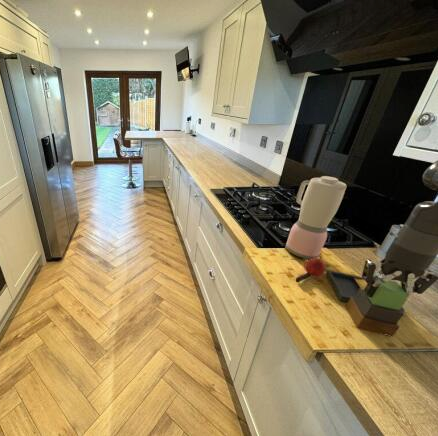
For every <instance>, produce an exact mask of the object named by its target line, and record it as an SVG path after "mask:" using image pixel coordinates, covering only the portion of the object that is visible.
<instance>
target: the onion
mask: <svg viewBox="0 0 438 436" xmlns="http://www.w3.org/2000/svg"><path fill="white" fill-rule="evenodd" d="M321 259H322V258H321V257H320V256H319V257H317V258H316V259H310V260H309V261H305V262H306V263H304V269H305V272H306V273H310V274H311V277H320V276H322V275H323V274H324V273H325V271H326V268H325V267H326V265H325V263H324V261H323V260H321Z"/></svg>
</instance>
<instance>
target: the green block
mask: <svg viewBox="0 0 438 436" xmlns="http://www.w3.org/2000/svg"><path fill="white" fill-rule="evenodd" d="M377 280H378V279H377ZM364 292H365V291H364ZM409 297H410V294H409V295H408V294H407V293H406V292H405V291H404V290H403V289H402V288H401V285H400V284H399V283H398V282H397V281H395V280H390V281H388V282H387V283H382V284H381V285H379V286H378V288H377V290H376V292H375V293H374V295H373V297H368V298H369V299H370V300H371V302H372V303H373V305H378V306H382V307H386V308H391V309H395V310H399V309H400V308H401V307H402V308H403V305H404V304H405V302H406V301H407V300H408V298H409Z"/></svg>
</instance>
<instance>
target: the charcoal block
mask: <svg viewBox="0 0 438 436" xmlns="http://www.w3.org/2000/svg"><path fill="white" fill-rule="evenodd" d="M364 289H365V288H361V289H359V290H358V292H357V293H356V295H355V297H354V300H355V302H356V303H357V305H358V307H359V308H360V310H361V312H362V313H363V315H364V316H365V317H368V318H372V319H377V320H381V321H385V322H389V323H393V324H397V323H398V324H399V321H400V320H401V318H402V317H403V316H404V315H405V312H404V311H402V310H401V309H399V310H395V309H391V308H386V307H382V306H378V305H373V303H372V302H371V300H370V299H369V298H368V296H367V295H366V293H365V292H364Z"/></svg>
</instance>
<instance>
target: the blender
mask: <svg viewBox="0 0 438 436" xmlns="http://www.w3.org/2000/svg"><path fill="white" fill-rule="evenodd" d="M306 186H307V188H306ZM347 187H348V186H347V184H346V183H344V182H343V181H340V180H339V179H338V178H337V177H334V176H328V175H322V176H320V177H313V178H311V179H310V180H308V179H307V180H303V181H302V182H301V183H300V186H299V188H298V191H297V194H296V198H295V202H296V203H297V205H300V211H299V216H298V220H297V221H296V222H295V223H294V224H293V225H292V227H291V228H290V229H289V230H288V233H289V234H288V237H287V241H286V243H285V247H284V249H285V250H287V251H288V252H289V253H291V254H293V255H295V256H296V257H299V258H302V261H304V260H308V261H309V260H311V259H316V258H317V257H320V256H321V252H322V250H323V248H324V246H325V243H326V241H327V238H328V229H327V228H328V226H329V224H330V223H331V221H332V220H333V218H334V217H335V215H336V214H337V212H338V210H339V207H340V205H341V203H342V200H343V198H344V196H345V193H346V192H345V191H346V190H347ZM305 188H306V190H305ZM303 194H304V195H303ZM302 197H303V199H302Z"/></svg>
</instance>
